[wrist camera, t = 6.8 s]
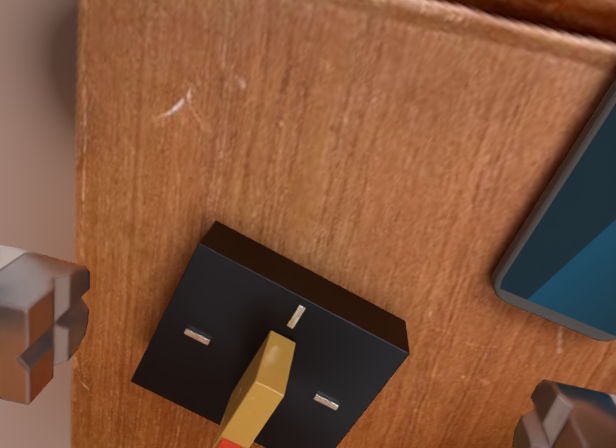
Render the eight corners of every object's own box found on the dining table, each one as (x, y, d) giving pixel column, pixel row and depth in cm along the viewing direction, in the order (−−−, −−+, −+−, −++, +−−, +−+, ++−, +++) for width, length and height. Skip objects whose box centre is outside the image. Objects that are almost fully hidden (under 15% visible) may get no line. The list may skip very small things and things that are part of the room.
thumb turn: (270, 329, 26) (253, 384, 22) (296, 342, 26) (284, 399, 22) (231, 394, 28) (208, 455, 24) (255, 405, 28) (236, 469, 24)
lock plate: (151, 349, 31) (128, 383, 28) (216, 220, 27) (197, 244, 24) (320, 433, 32) (316, 475, 29) (405, 321, 28) (410, 356, 25)
